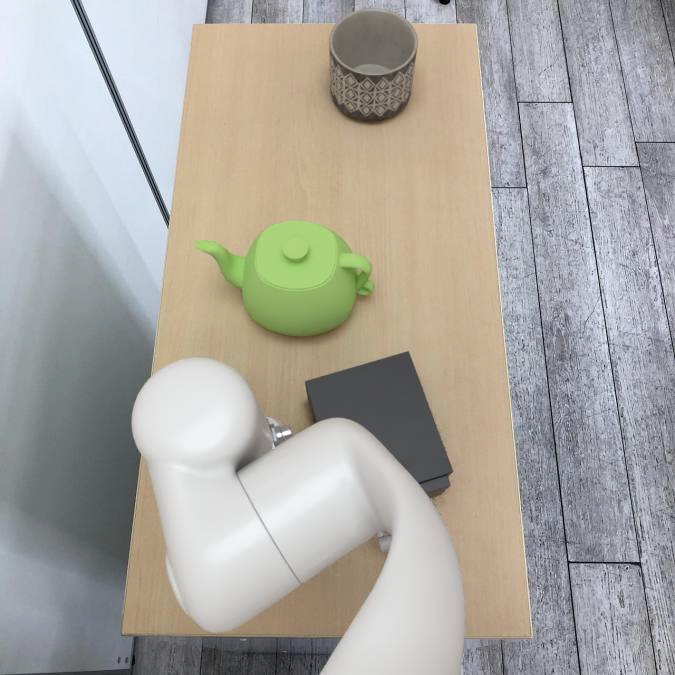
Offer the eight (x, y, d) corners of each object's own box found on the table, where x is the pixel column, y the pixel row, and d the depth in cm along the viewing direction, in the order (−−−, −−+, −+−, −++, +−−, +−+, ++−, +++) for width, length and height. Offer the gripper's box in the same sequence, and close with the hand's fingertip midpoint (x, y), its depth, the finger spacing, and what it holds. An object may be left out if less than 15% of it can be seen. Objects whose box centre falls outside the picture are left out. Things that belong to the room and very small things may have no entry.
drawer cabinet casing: (440, 485, 77) (453, 471, 68) (342, 516, 76) (342, 506, 67) (401, 376, 82) (408, 350, 73) (308, 403, 81) (304, 381, 72)
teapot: (205, 338, 84) (183, 296, 72) (221, 241, 90) (202, 186, 77) (370, 349, 83) (375, 309, 71) (375, 250, 89) (381, 197, 77)
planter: (352, 52, 102) (353, -3, 93) (423, 79, 100) (432, 25, 91) (316, 108, 98) (313, 55, 89) (389, 137, 96) (395, 87, 86)
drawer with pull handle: (453, 530, 74) (465, 524, 67) (361, 560, 73) (363, 558, 66) (403, 391, 80) (409, 372, 73) (317, 417, 79) (315, 400, 72)
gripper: (307, 380, 50) (317, 435, 67) (120, 436, 48) (179, 477, 65) (335, 472, 47) (338, 505, 64) (137, 533, 45) (194, 550, 62)
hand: (257, 491), depth 64 cm, fingers closed
